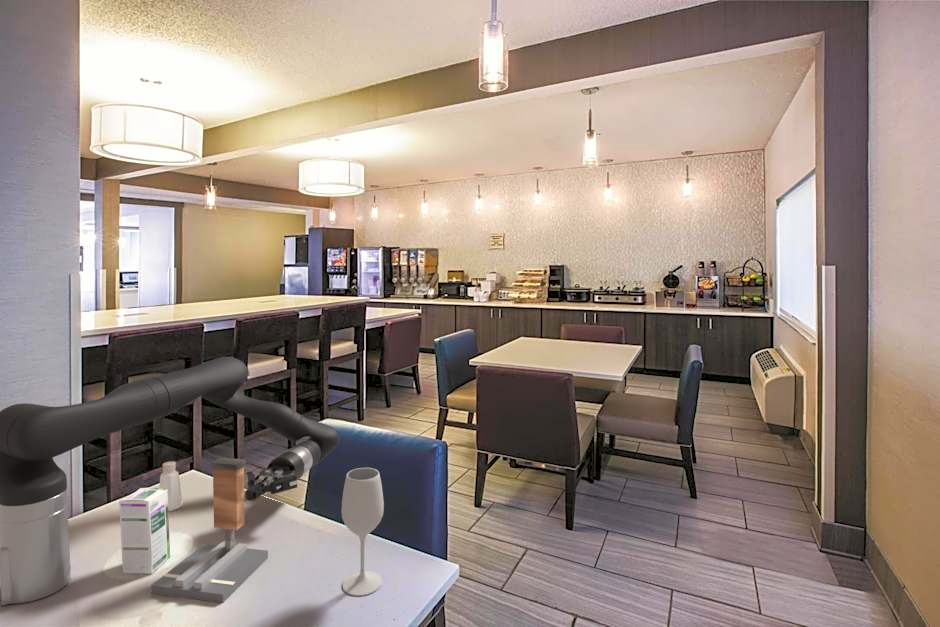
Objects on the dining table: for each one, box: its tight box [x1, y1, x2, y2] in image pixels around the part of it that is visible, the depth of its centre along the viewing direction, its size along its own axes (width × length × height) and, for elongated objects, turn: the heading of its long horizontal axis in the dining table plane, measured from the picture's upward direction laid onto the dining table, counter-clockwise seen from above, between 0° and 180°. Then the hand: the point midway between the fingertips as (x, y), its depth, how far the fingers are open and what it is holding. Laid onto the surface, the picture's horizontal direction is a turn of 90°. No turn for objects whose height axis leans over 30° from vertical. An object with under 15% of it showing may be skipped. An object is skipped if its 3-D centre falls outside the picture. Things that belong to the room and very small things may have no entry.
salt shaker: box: [158, 460, 184, 512], centre depth 120 cm, size 5×5×11 cm
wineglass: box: [341, 467, 385, 597], centre depth 91 cm, size 8×8×21 cm
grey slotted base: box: [150, 540, 269, 604], centre depth 94 cm, size 14×14×3 cm
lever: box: [210, 457, 246, 553], centre depth 98 cm, size 3×5×18 cm, turn 81°
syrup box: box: [119, 487, 171, 575], centre depth 96 cm, size 6×6×14 cm
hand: (249, 496), depth 105 cm, fingers closed
